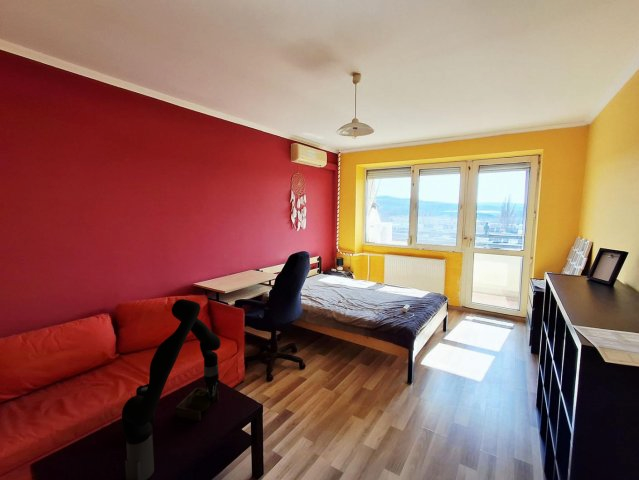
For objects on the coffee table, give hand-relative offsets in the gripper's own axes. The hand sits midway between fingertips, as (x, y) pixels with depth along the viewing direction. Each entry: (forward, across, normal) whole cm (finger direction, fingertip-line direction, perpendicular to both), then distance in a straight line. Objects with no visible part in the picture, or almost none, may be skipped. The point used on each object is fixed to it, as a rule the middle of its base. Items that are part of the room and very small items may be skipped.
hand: (212, 401), depth 162 cm
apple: (+5, -1, +6) cm, 8 cm away
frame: (+5, 0, +8) cm, 9 cm away
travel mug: (+4, -18, +26) cm, 32 cm away
